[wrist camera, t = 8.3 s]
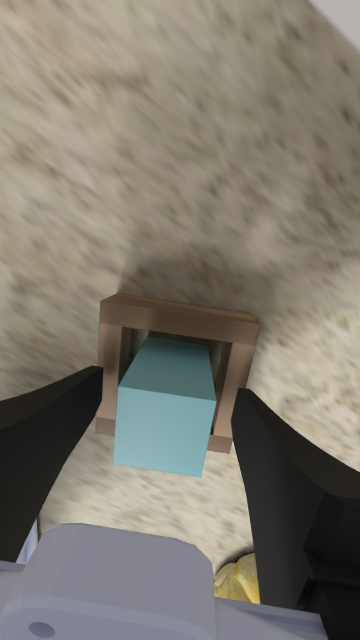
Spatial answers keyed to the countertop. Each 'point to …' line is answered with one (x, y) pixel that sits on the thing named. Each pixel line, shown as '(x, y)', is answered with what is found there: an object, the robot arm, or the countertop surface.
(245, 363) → the well frame
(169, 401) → the light blue block
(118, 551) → the robot arm
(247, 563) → the bread roll
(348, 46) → the countertop surface
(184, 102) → the countertop surface
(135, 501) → the countertop surface
